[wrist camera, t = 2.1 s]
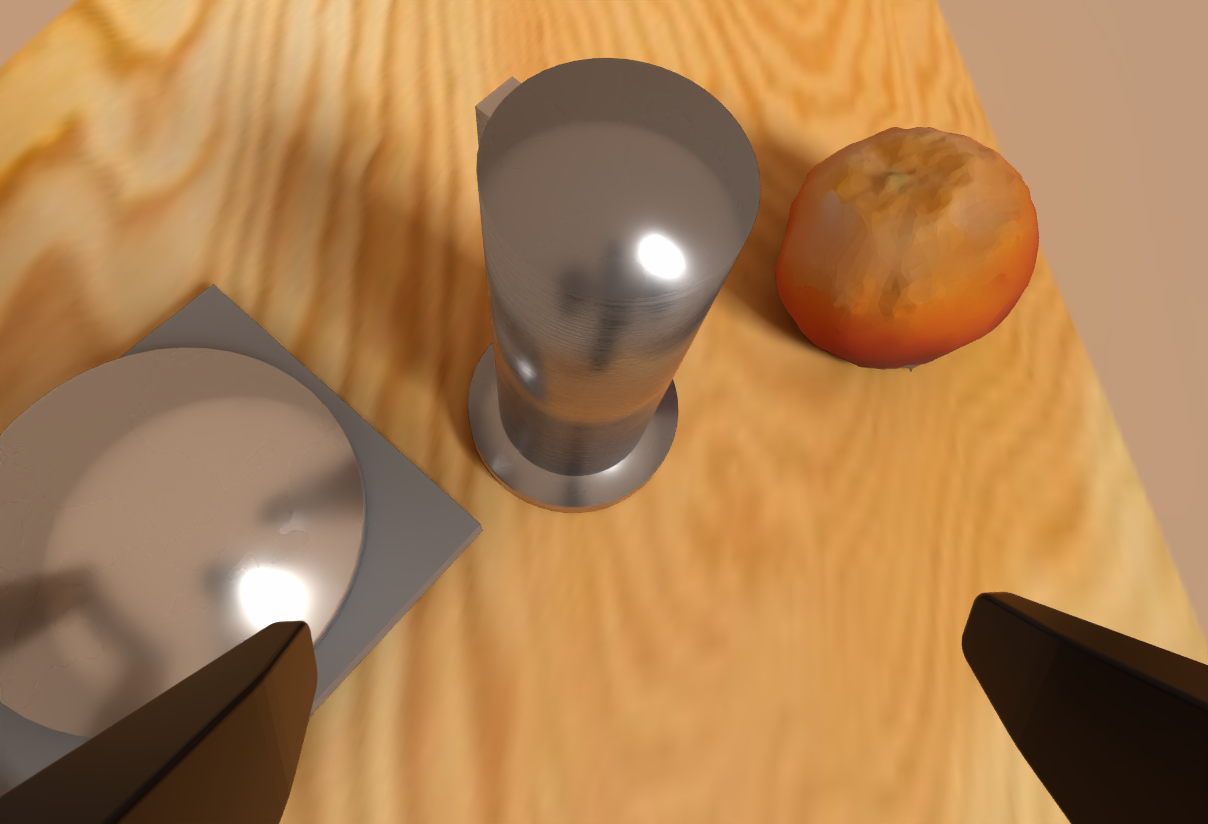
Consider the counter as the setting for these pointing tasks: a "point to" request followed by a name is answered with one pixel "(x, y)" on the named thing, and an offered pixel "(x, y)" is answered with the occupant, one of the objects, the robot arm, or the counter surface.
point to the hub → (598, 270)
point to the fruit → (906, 247)
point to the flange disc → (165, 528)
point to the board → (393, 545)
